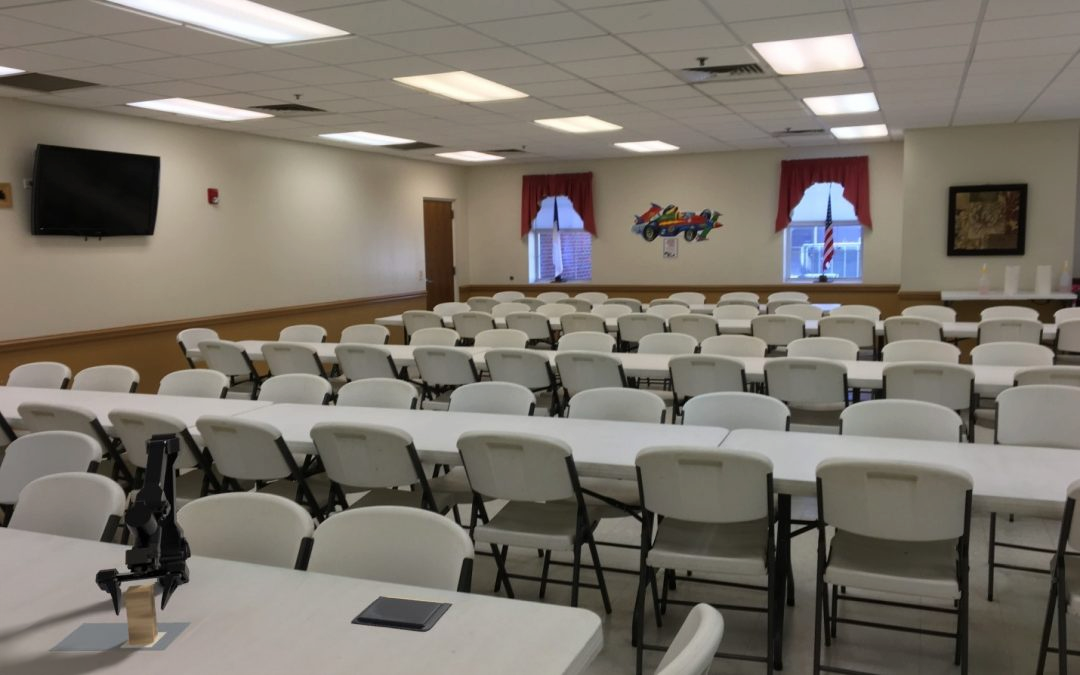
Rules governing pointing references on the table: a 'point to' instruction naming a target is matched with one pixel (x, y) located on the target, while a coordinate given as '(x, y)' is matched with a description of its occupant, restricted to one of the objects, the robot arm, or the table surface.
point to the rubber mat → (116, 637)
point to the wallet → (402, 613)
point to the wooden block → (141, 614)
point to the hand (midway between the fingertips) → (139, 612)
